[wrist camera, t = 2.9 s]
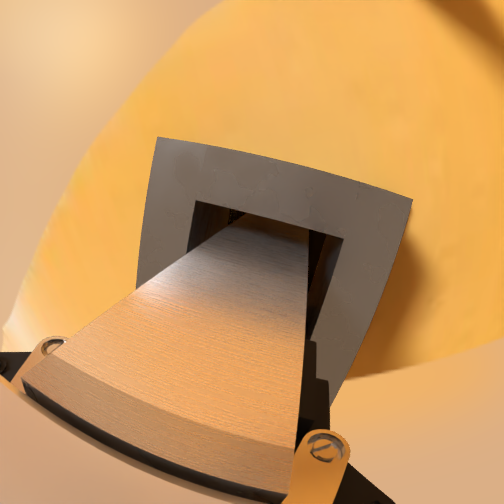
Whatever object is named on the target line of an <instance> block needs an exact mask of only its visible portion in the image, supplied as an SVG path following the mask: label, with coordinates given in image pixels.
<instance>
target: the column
mask: <svg viewBox="0 0 504 504" xmlns="http://www.w3.org/2000/svg"><path fill="white" fill-rule="evenodd" d="M308 250H309V229H307V228H304V227H300V226H296V225H293V224H289V223H285V222H281V221H278V220H274V219H270V218H266V217H262V216H258V215H255V214H251V213H246V214H245V215H243V216H242V217H240V218H239V219H237V220H236V221H234V222H233V223H231V224H230V225H228V226H227V227H225V228H224V229H222V230H221V231H220V232H218V233H217V234H215V235H214V236H212V237H211V238H209V239H208V240H206V241H205V242H203V243H202V244H200V245H199V246H198V247H196V248H195V249H193V250H192V251H190V252H189V253H187V254H186V255H184V256H183V257H182V258H180V259H179V260H177V261H176V262H174V263H173V264H172V265H170V266H169V267H167V268H166V269H164V270H163V271H162V272H160V273H159V274H157V275H156V276H155V277H153V278H152V279H150V280H149V281H147V282H146V283H145V284H143V285H142V286H140V287H139V288H138V289H136V290H135V291H134V292H132V293H131V294H129V295H128V296H127V297H125V298H124V299H122V300H121V301H120V302H118V303H117V304H116V305H114V306H113V307H112V308H110V309H109V310H107V311H106V312H105V313H103V314H102V315H101V316H99V317H98V318H97V319H95V320H94V321H93V322H91V323H90V324H89V325H87V326H86V327H85V328H83V329H82V330H81V331H79V332H78V333H77V334H75V335H74V336H73V337H71V338H70V339H69V340H67V341H66V342H65V343H63V344H62V345H61V346H60V347H58V348H57V349H56V350H54V351H53V352H52V353H50V354H49V355H48V356H47V357H45V358H44V359H43V360H41V361H40V362H39V363H38V364H36V365H35V366H34V367H33V368H31V369H30V370H29V371H27V372H26V373H25V374H24V375H22V376H21V381H22V384H23V387H24V390H25V393H26V395H27V396H29V397H30V398H31V399H33V400H34V401H35V402H37V403H38V404H40V405H41V406H42V407H44V408H45V409H47V410H48V411H50V412H51V413H53V414H54V415H56V416H57V417H59V418H60V419H62V420H63V421H65V422H67V423H68V424H70V425H71V426H73V427H75V428H76V429H78V430H80V431H81V432H83V433H85V434H86V435H88V436H90V437H92V438H93V439H95V440H97V441H99V442H101V443H103V444H104V445H106V446H108V447H110V448H112V449H114V450H116V451H118V452H120V453H122V454H124V455H126V456H128V457H130V458H132V459H135V460H137V461H139V462H141V463H143V464H146V465H148V466H150V467H153V468H155V469H157V470H160V471H162V472H165V473H167V474H170V475H172V476H175V477H178V478H180V479H183V480H186V481H189V482H191V483H194V484H197V485H200V486H203V487H206V488H210V489H213V490H216V491H219V492H223V493H226V494H230V495H234V496H237V497H241V498H245V499H249V500H254V501H258V502H262V503H267V504H281V503H282V502H283V501H284V499H285V498H286V497H287V496H288V494H289V487H290V480H291V473H292V465H293V458H294V449H295V441H296V432H297V423H298V413H299V403H300V392H301V380H302V368H303V355H304V340H305V324H306V305H307V282H308Z"/></svg>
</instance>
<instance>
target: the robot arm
mask: <svg viewBox="0 0 504 504" xmlns="http://www.w3.org/2000/svg"><path fill="white" fill-rule="evenodd" d="M67 340H69V339H68V338H66V337H62V336H52V337H47V338H45V339H43V340H42V341H41V342H40V343H39V344H38V345H37V346H36V348H35V349H34V350H33V352H0V504H267V503H262V502H258V501H254V500H249V499H245V498H241V497H237V496H234V495H230V494H226V493H223V492H219V491H216V490H213V489H210V488H206V487H203V486H200V485H197V484H194V483H191V482H189V481H186V480H183V479H180V478H178V477H175V476H172V475H170V474H167V473H165V472H162V471H160V470H157V469H155V468H153V467H150V466H148V465H146V464H143V463H141V462H139V461H137V460H135V459H132V458H130V457H128V456H126V455H124V454H122V453H120V452H118V451H116V450H114V449H112V448H110V447H108V446H106V445H104V444H103V443H101V442H99V441H97V440H95V439H93V438H92V437H90V436H88V435H86V434H85V433H83V432H81V431H80V430H78V429H76V428H75V427H73V426H71V425H70V424H68V423H67V422H65V421H63V420H62V419H60V418H59V417H57V416H56V415H54V414H53V413H51V412H50V411H48V410H47V409H45V408H44V407H42V406H41V405H40V404H38V403H37V402H35V401H34V400H33V399H31V398H30V397H29V396H27V395H26V393H25V390H24V387H23V384H22V381H21V376H22V375H24V374H25V373H26V372H27V371H29V370H30V369H31V368H33V367H34V366H35V365H36V364H38V363H39V362H40V361H41V360H43V359H44V358H45V357H47V356H48V355H49V354H50V353H52V352H53V351H54V350H56V349H57V348H58V347H60V346H61V345H62V344H63V343H65V342H66V341H67ZM316 360H317V343H316V342H315V341H311V340H307V339H305V340H304V355H303V368H302V380H301V392H300V403H299V413H298V423H297V432H296V441H295V449H294V458H293V465H292V473H291V480H290V487H289V494H288V496H287V497H286V498H285V499H284V501H283V502H282V503H281V504H395V503H394V502H393V500H392V499H390V498H389V497H388V496H387V495H385V494H384V493H383V492H382V491H381V490H379V489H378V488H377V487H376V486H375V485H373V484H372V483H371V482H370V481H369V480H368V479H366V478H365V477H364V476H363V475H362V474H361V473H359V472H358V471H357V470H356V469H355V468H354V467H353V466H351V465H350V464H349V463H348V460H349V457H350V447H349V444H348V443H347V441H346V440H345V439H344V438H343V437H342V436H341V435H339V434H337V433H335V432H333V431H330V403H329V382H328V380H324V379H319V378H316Z"/></svg>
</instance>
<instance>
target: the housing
mask: <svg viewBox="0 0 504 504" xmlns="http://www.w3.org/2000/svg"><path fill="white" fill-rule="evenodd" d="M412 201H413V199H410V198H408V197H405V196H402V195H399V194H396V193H393V192H390V191H387V190H384V189H381V188H378V187H375V186H371V185H368V184H365V183H362V182H359V181H355V180H352V179H349V178H345V177H342V176H338V175H335V174H331V173H328V172H324V171H320V170H317V169H313V168H309V167H305V166H302V165H298V164H294V163H290V162H286V161H281V160H277V159H273V158H269V157H264V156H260V155H255V154H251V153H246V152H241V151H237V150H232V149H227V148H221V147H216V146H211V145H205V144H200V143H194V142H188V141H182V140H176V139H169V138H163V137H157V141H156V146H155V151H154V156H153V162H152V167H151V173H150V178H149V184H148V190H147V197H146V203H145V210H144V217H143V225H142V233H141V241H140V250H139V259H138V270H137V281H136V289H138V288H139V287H140V286H142V285H143V284H145V283H146V282H147V281H149V280H150V279H152V278H153V277H155V276H156V275H157V274H159V273H160V272H162V271H163V270H164V269H166V268H167V267H169V266H170V265H172V264H173V263H174V262H176V261H177V260H179V259H180V258H182V257H183V256H184V255H186V254H187V253H189V252H190V251H192V250H193V249H195V248H196V247H198V246H199V245H200V244H202V243H203V242H205V241H206V240H208V239H209V238H211V237H212V236H214V235H215V234H217V233H218V232H220V231H221V230H222V229H224V228H225V227H227V225H228V220H229V216H230V211H231V209H235V210H239V211H243V212H247V213H251V214H255V215H258V216H262V217H266V218H270V219H274V220H278V221H281V222H285V223H289V224H293V225H296V226H300V227H304V228H307V229H311V230H315V231H318V232H322V233H325V234H326V238H325V241H324V244H323V248H322V251H321V255H320V258H319V261H318V265H317V268H316V271H315V274H314V278H313V281H312V284H311V287H310V290H309V293H308V297H307V305H306V324H305V339H307V340H311V341H315V342H316V343H317V360H316V378H319V379H324V380H328V382H329V403H330V406H331V404H332V403H333V400H334V399H335V397H336V395H337V393H338V391H339V389H340V387H341V385H342V383H343V381H344V379H345V377H346V375H347V373H348V371H349V369H350V367H351V365H352V363H353V361H354V359H355V357H356V355H357V352H358V350H359V348H360V346H361V344H362V341H363V339H364V337H365V335H366V332H367V330H368V328H369V325H370V323H371V321H372V318H373V316H374V313H375V311H376V308H377V306H378V303H379V301H380V298H381V296H382V293H383V291H384V288H385V285H386V283H387V280H388V277H389V274H390V272H391V269H392V266H393V263H394V260H395V257H396V254H397V251H398V248H399V245H400V242H401V239H402V236H403V232H404V229H405V226H406V223H407V219H408V216H409V212H410V209H411V205H412Z"/></svg>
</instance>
